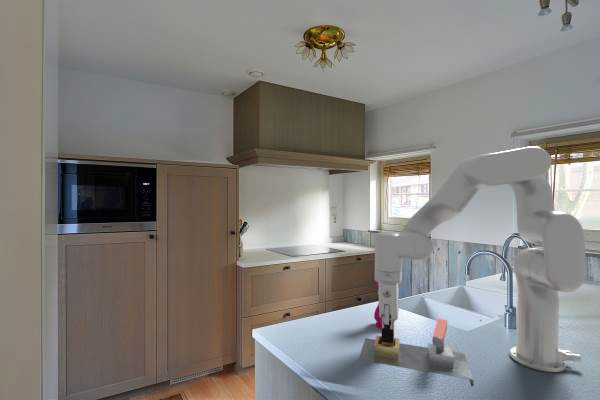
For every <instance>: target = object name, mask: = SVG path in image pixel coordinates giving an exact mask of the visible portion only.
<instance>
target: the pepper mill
mask: <svg viewBox="0 0 600 400" xmlns="http://www.w3.org/2000/svg"><path fill="white" fill-rule="evenodd" d="M375 282H376V287H377V295H378V296H379V282H377V281H375ZM373 314H374V315H373V318H374V320H375V321H376V322H375V325H374V326H375V327H376V328H377V329H380V330H382V318H380V315H379V302H378V304H377V306H376V308H375V310H374V313H373ZM395 321H396V320H395V319H394V323H395Z"/></svg>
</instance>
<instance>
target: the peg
mask: <svg viewBox="0 0 600 400" xmlns="http://www.w3.org/2000/svg"><path fill="white" fill-rule="evenodd" d="M389 310H390V308H389ZM389 317H391V316H389ZM389 322H390V323H391V320H389ZM393 329H394V330H395V322H394V319H393ZM394 338H395V332H394V333H393V343H385V342H382V344H383V345H389V346H394Z"/></svg>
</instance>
